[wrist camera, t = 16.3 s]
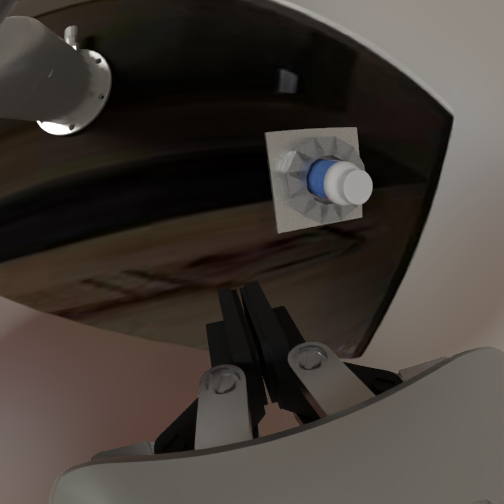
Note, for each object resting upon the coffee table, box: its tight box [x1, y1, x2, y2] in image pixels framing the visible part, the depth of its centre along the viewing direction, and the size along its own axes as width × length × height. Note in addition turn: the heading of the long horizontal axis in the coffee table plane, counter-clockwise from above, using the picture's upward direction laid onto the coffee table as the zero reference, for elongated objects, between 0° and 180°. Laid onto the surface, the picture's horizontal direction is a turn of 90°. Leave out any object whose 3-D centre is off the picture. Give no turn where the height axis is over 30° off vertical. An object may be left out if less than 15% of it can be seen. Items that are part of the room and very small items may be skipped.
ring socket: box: [264, 127, 365, 233], centre depth 36 cm, size 14×14×4 cm
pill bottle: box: [306, 159, 373, 206], centre depth 33 cm, size 6×5×10 cm
